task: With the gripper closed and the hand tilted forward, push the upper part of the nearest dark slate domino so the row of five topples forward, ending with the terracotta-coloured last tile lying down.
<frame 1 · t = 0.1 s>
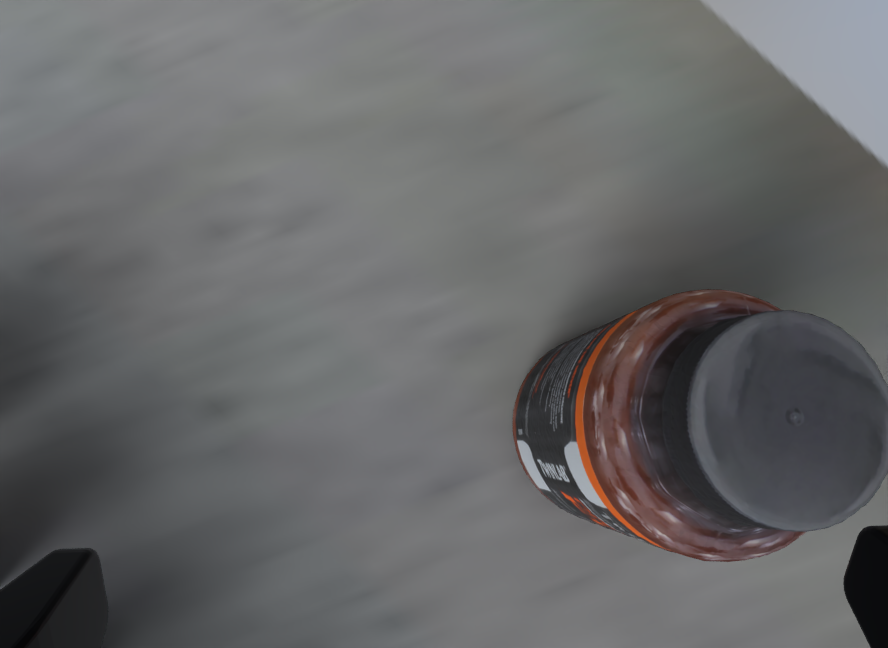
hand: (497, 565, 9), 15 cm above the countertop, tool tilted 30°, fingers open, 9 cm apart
supplement bottle: (595, 427, 24), on the countertop
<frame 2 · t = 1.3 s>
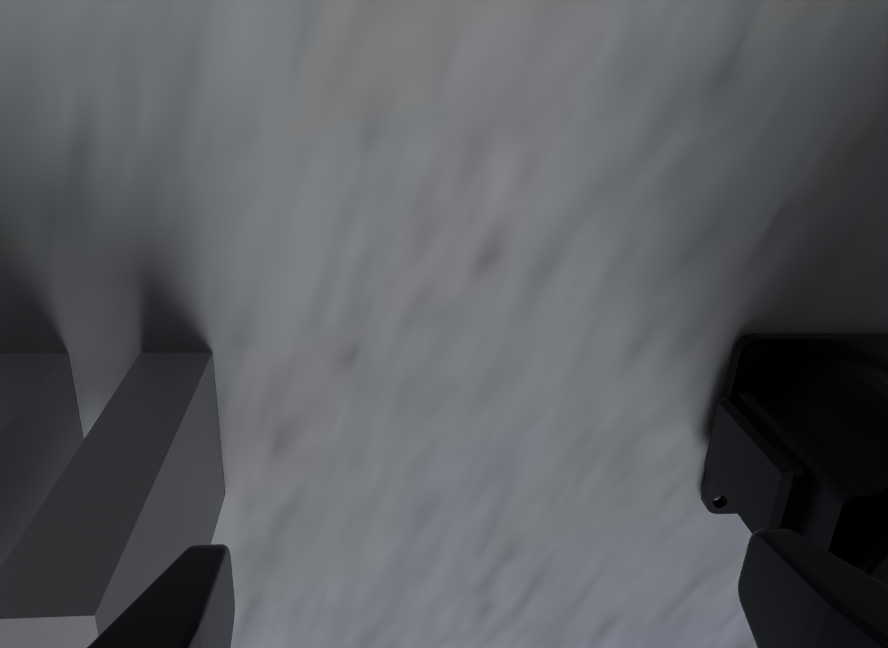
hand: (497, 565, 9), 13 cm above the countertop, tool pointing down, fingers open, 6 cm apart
domino 2: (46, 428, 22), on the countertop
domino 1: (185, 427, 22), on the countertop
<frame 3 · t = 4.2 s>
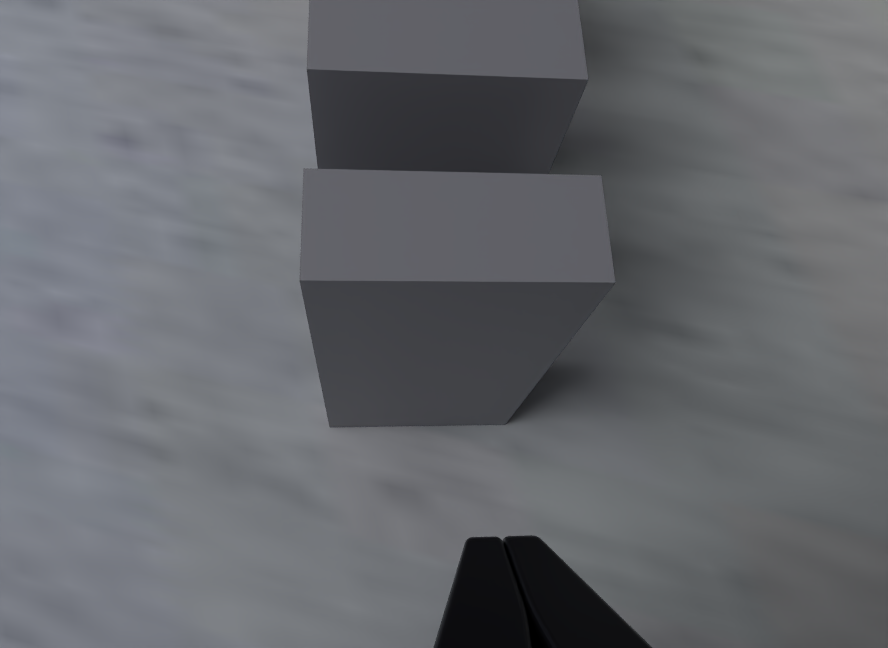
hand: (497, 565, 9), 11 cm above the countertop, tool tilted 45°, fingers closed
domino 2: (414, 266, 23), on the countertop
domino 1: (417, 391, 21), on the countertop
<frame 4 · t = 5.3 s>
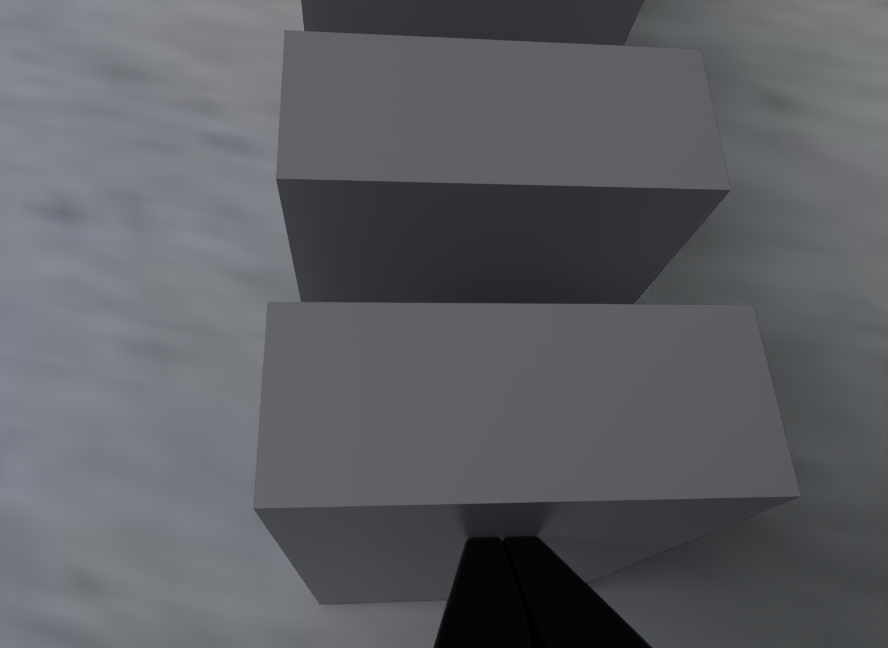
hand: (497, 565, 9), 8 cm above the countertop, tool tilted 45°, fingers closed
domino 2: (431, 377, 17), on the countertop
domino 3: (426, 231, 19), on the countertop
domino 1: (436, 551, 16), on the countertop, touching gripper
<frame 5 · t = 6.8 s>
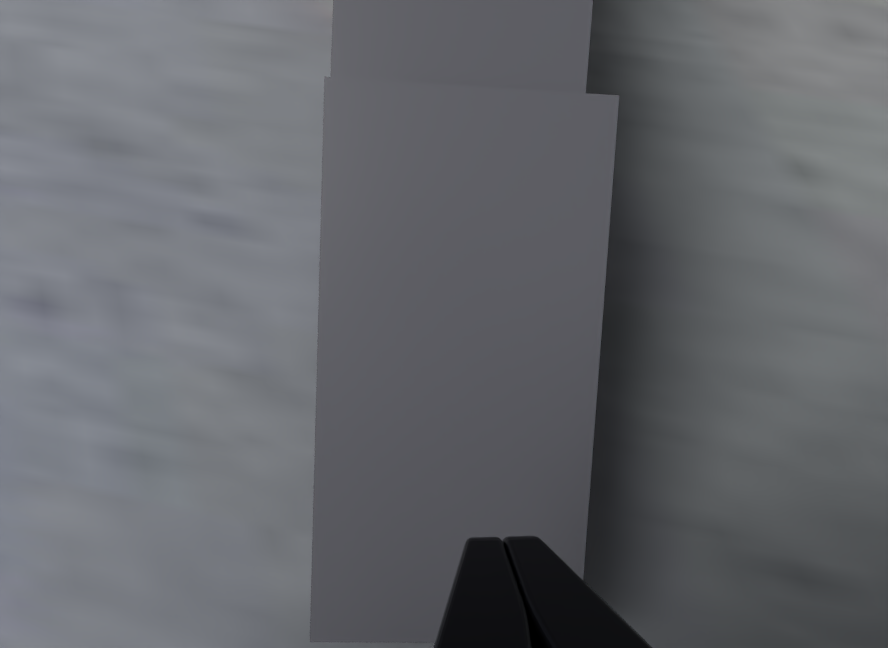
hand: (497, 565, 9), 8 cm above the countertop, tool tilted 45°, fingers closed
domino 2: (437, 410, 16), point 1 cm above the countertop, tilted 61°, touching domino 1, domino 3
domino 1: (442, 614, 15), point 1 cm above the countertop, tilted 61°, touching domino 2
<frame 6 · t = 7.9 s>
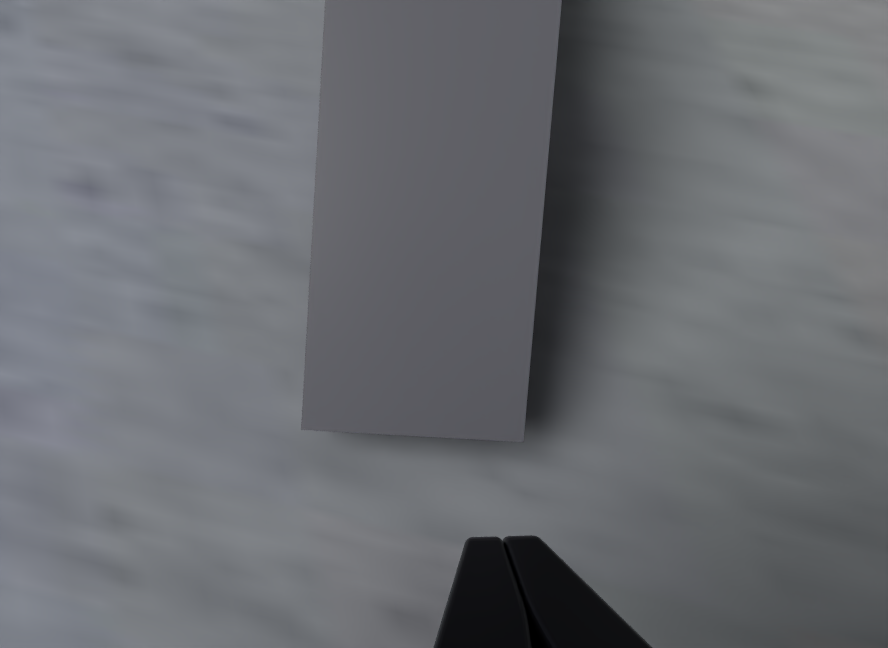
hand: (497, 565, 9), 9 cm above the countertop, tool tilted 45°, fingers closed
domino 1: (412, 425, 17), point 1 cm above the countertop, tilted 63°
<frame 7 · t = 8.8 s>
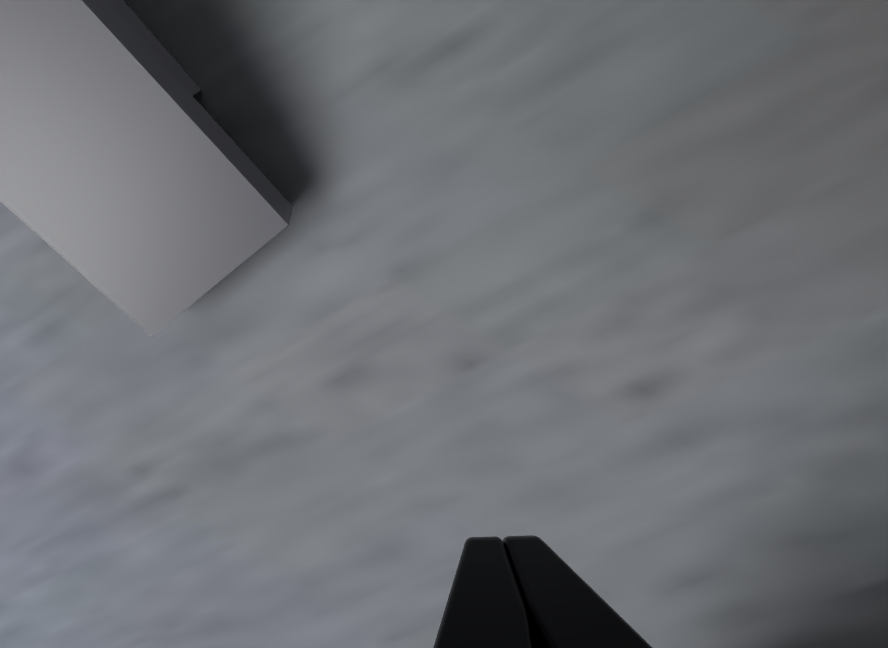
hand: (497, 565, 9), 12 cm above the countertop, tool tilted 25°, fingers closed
domino 2: (130, 148, 21), point 1 cm above the countertop, tilted 65°, touching domino 1, domino 3
domino 1: (223, 269, 21), point 1 cm above the countertop, tilted 65°, touching domino 2
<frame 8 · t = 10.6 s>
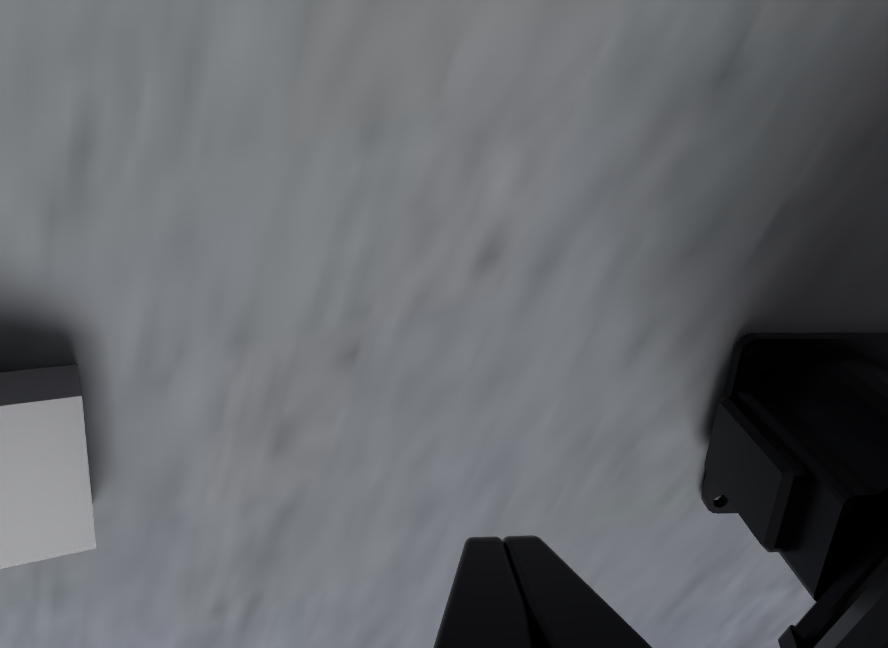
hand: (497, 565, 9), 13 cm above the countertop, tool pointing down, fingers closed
domino 1: (86, 456, 21), point 1 cm above the countertop, tilted 68°, touching domino 2
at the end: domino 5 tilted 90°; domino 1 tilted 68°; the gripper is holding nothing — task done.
